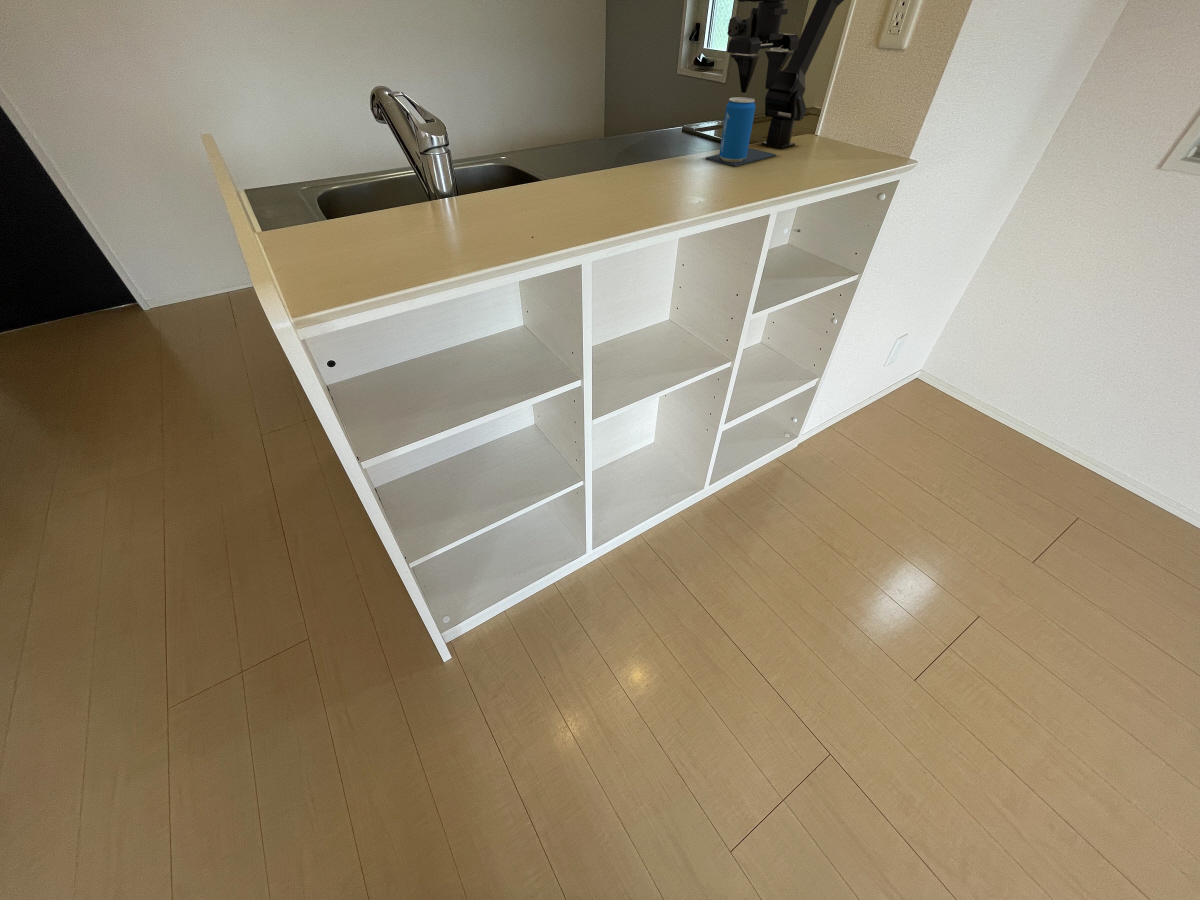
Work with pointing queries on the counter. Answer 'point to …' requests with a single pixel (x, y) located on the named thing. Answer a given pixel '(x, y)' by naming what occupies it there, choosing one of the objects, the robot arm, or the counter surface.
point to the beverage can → (737, 129)
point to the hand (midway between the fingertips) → (755, 90)
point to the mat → (751, 157)
